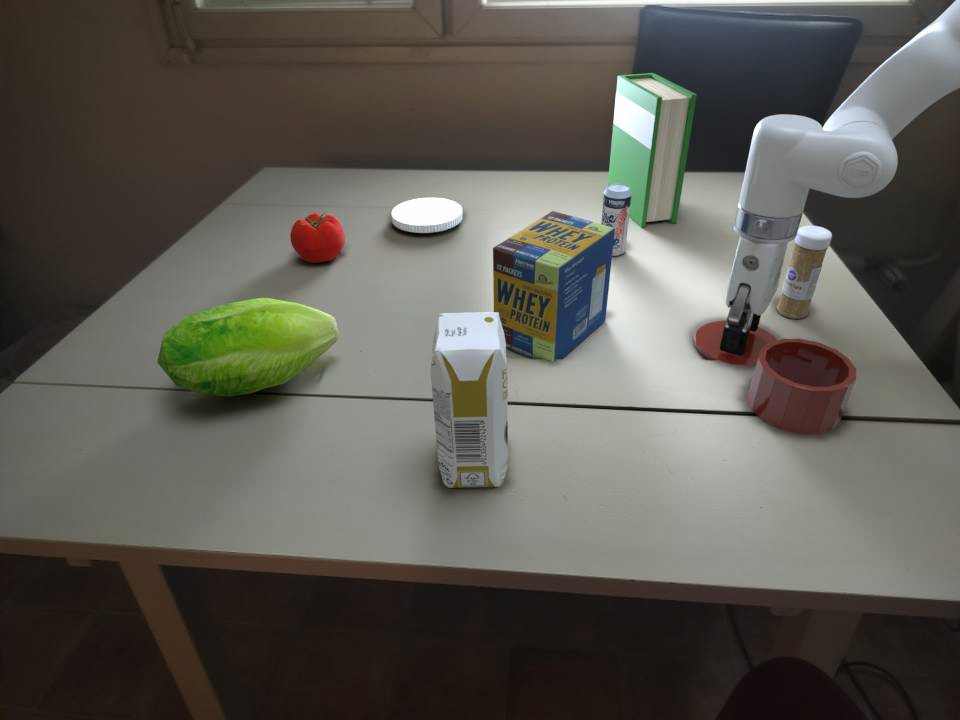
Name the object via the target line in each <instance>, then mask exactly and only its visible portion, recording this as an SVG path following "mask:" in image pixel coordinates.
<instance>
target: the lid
mask: <svg viewBox="0 0 960 720" xmlns="http://www.w3.org/2000/svg"><path fill="white" fill-rule="evenodd" d="M745 307H746V308H750V305H746V304H745ZM753 314H754V313H753ZM753 314H752V317H751V320H750V323H749V327H748V330H750V327H751V323H752V319H753ZM746 315H747V313H742V319H744V322H745V319H746ZM726 321H727V319H726V320H715V321H711V322H708V323H705V324H703V325H701V326H700V327H698V329H697V330H696V331H695V333H694V337H693V342H694V346H695V348H696V349H697V350H698V351H699V352H700V354H701V355H703V356H704V357H706V358H707V359H708V360H710V361H718V362H722V363H725V364H729V365H734V366H741V367H756V363H757V359H758V355H759V352H760V349H761V348H762V347H763V346H765V345H766V344H767V343H769V342H772V341H776V340H778V338H776V337H775V335H773V334H772V333H771V332H769V331H768V330H766V329H764V328H762V327H760V326H758V329H757V331H755V332H754V331H750V332H749V336H748V340H747V344H746V348H745V352H744V354H743V355H742V356H739V355H736V354H732V353H729V352H725V351H722V350H720V344H721V339H722V335H723V330H724V326H725V324H726Z"/></svg>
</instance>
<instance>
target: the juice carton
mask: <svg viewBox="0 0 960 720" xmlns="http://www.w3.org/2000/svg"><path fill="white" fill-rule="evenodd" d="M432 340H433V341H432V355H431V361H430V382H431V393H432V405H433V416H434V429H435V441H436V452H437V462H438V463H437V464H438V470H439V474H440V476H441V480H442V482H443V484H444V485H445V486H446V487H447V488H449V489H451V488H452V489H459V488H464V489H465V488H498V487H500V486H502V485H503V484H504V482H505V478H506V475H507V471H508V465H509V462H508V461H509V460H508V459H509V439H508V438H509V431H508V430H509V424H508V423H509V422H508V420H509V419H508V417H509V411H508V409H509V408H508V407H509V406H508V405H509V403H508V398H509V396H508V395H509V393H508V391H509V389H508V388H509V385H508V384H509V383H508V381H509V380H508V360H507V348H506V341H505V336H504V332H503V328H502V325H501V321H500V318H499V312H494V311H484V312H481V311H478V312H477V311H475V312H474V311H473V312H470V311H469V312H443V313H438V314H437V321H436V326H435V329H434V334H433V339H432Z"/></svg>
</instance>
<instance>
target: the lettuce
mask: <svg viewBox="0 0 960 720" xmlns="http://www.w3.org/2000/svg"><path fill="white" fill-rule="evenodd" d="M339 338H340V333H339V328H338V323H337V320H336V318H335V317H333V316H332V315H331V314H330V313H327V312H324V311H322V310H320V309H317V308H314V307H311V306H308V305H305V304H300V303H298V302H292V301H286V300H282V299H281V300H280V299H274V298H269V297H258V298H251V299H245V300H240V301H239V300H238V301H235V302H229V303H224V304H221V305H217V306H214V307H210V308H208V309H205V310H202V311H199V312H197V313H192V314H188V315H184V316H183V317H182V318H180V319H179V320H178V321H177V322H176V323H175V324H174V325H173V326H172V327H170V328H169V329H167V331H165V332H164V333H163V336H162V341H161V345H160V349H159V353H158V357H157V361H156V363H157V364H158V365H159V367H160V368H161V370H163V372H164V373H165V374H166V375H167V376H168V378H169V379H170V380H171V381H172V383H174V385H175V386H176V387H179V388H181V389H185V390H188V391H191V392H194V393H197V394H200V395H202V396H216V397H229V398H233V397H236V396H243V395H250V394H254V393H256V392H260V391H261V390H265V389H267V388H268V389H269V388H271V387H275V386H280V385H284V384H286V383H287V382H288V381H290V380H292V379H294V378H295V377H298V376H299V375H300V374H301V373H303V372H304V371H305V370H306V369H308V368H309V367H310V366H311V365H312V364H313V363H315V361H316V360H317V359H318V358H320V357H321V356H322V355H323V354H325V353H326V352H327V351H328V350H329V349H330V348H332V346H333V345H334V344H335V343H337V341H338V340H339Z"/></svg>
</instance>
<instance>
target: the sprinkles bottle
mask: <svg viewBox="0 0 960 720" xmlns="http://www.w3.org/2000/svg"><path fill="white" fill-rule="evenodd" d="M832 238H833V233H832V231H830V230H828V229H827V228H825V227H823V226H818V225H803V226H801V227H799V229H798V232H797V236H796V238H795V239H794V241H795V242H794V247H793V251H792V254H791V257H790V261H789V265H788V268H787V271H786V274H785V278H784V280H783V283H782V288H781V293H780V297H779V300H778V304H777V306H776V310H777V313H778V314H780V315H781V316H783V317H785V318H789V319H796V320H797V319H798V320H799V319H804V318H805V317H807V316H808V315H809V308H810V305H811V302H812V298H813V297H814V294H815V291H816V287H817V283H818V281H819V279H820V278H819V277H820V274H821V271H822V268H823V263H824V260H825V257H826V254H827V250H828V249H829V247H830V245H831V242H832Z"/></svg>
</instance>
